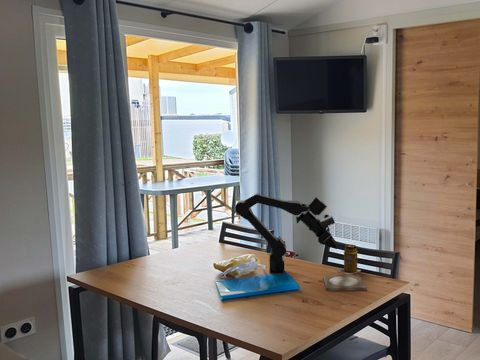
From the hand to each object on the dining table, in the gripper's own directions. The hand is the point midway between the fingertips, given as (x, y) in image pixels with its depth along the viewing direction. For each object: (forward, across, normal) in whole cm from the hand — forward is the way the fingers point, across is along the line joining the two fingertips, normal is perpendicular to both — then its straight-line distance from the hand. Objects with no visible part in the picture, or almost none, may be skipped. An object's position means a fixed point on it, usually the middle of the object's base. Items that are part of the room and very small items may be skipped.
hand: (336, 245), depth 219 cm
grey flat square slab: (+9, -18, +8) cm, 22 cm away
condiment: (+13, 0, +5) cm, 14 cm away
